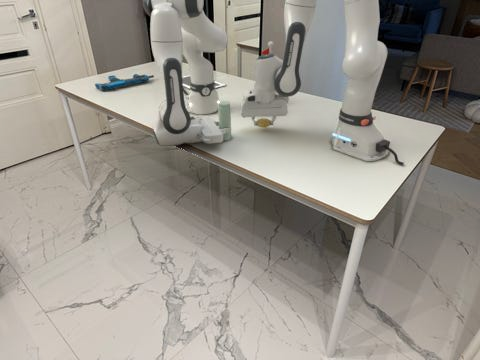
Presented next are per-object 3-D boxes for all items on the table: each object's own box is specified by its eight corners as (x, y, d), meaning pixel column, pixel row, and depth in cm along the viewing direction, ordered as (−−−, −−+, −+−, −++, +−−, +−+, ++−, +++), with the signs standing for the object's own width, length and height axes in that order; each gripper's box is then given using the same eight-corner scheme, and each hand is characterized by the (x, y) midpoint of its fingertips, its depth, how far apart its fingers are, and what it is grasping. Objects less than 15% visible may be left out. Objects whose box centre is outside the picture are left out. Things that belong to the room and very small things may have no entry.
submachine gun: (139, 68, 224) (158, 74, 208) (140, 74, 226) (159, 81, 209) (87, 78, 206) (103, 86, 189) (89, 85, 208) (104, 93, 191)
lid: (255, 122, 151) (255, 119, 150) (267, 121, 153) (267, 117, 152) (259, 128, 147) (259, 124, 146) (272, 126, 148) (272, 122, 147)
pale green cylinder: (233, 137, 145) (232, 102, 136) (226, 141, 141) (225, 105, 133) (224, 134, 147) (222, 99, 138) (217, 138, 144) (215, 103, 135)
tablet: (169, 80, 212) (169, 79, 212) (195, 74, 223) (195, 73, 223) (198, 92, 192) (198, 92, 192) (226, 85, 203) (226, 84, 203)
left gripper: (200, 134, 128) (235, 129, 132) (188, 115, 144) (219, 110, 148) (201, 149, 131) (235, 143, 135) (189, 128, 147) (220, 124, 151)
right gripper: (287, 91, 145) (285, 121, 153) (240, 92, 144) (240, 123, 152) (290, 96, 140) (288, 127, 148) (241, 97, 139) (241, 128, 146)
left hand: (227, 126), depth 142 cm, fingers closed on pale green cylinder, 5 cm apart
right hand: (263, 125), depth 150 cm, fingers closed on lid, 6 cm apart
